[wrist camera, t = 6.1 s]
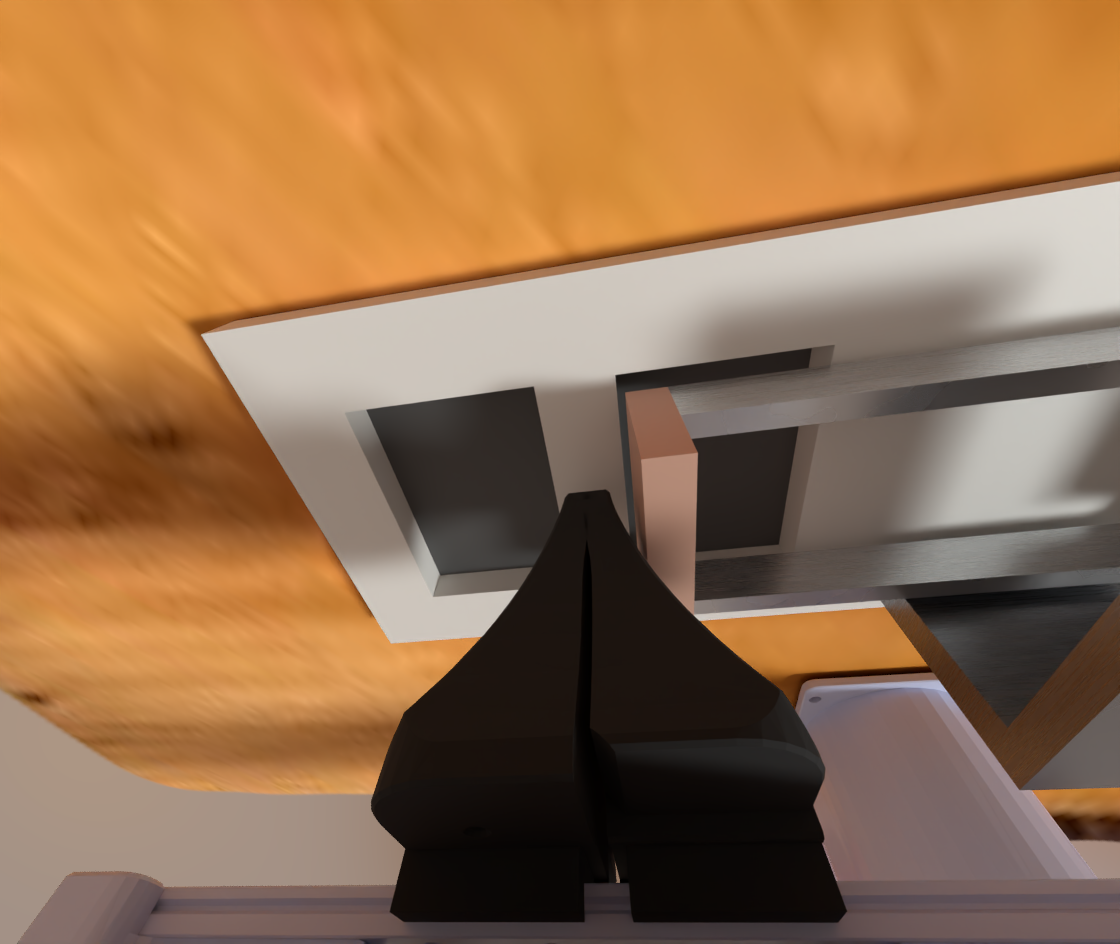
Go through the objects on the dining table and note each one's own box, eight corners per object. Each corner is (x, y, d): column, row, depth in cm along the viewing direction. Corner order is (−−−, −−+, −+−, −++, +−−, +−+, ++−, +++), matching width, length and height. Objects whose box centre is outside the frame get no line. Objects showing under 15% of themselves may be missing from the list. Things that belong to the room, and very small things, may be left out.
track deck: (401, 617, 18) (390, 643, 17) (234, 320, 11) (201, 334, 10) (1270, 547, 14) (1322, 574, 13) (1770, 61, 8) (1947, 43, 7)
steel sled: (639, 579, 14) (653, 665, 11) (624, 392, 10) (641, 459, 8) (1442, 510, 11) (1680, 600, 9) (1781, 237, 8) (2335, 262, 5)
